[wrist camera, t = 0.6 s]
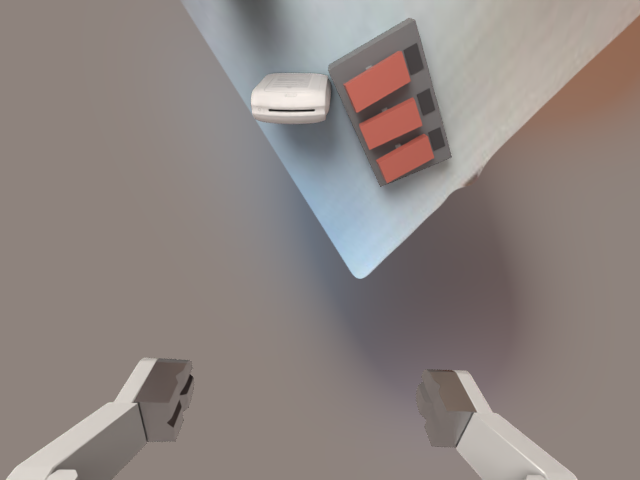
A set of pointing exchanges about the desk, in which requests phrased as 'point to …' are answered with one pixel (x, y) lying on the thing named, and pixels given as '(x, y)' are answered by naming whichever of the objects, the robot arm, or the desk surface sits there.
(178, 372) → the robot arm
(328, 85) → the photo printer
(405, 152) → the block
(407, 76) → the block
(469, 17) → the desk surface
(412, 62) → the rocker switch panel
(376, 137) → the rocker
